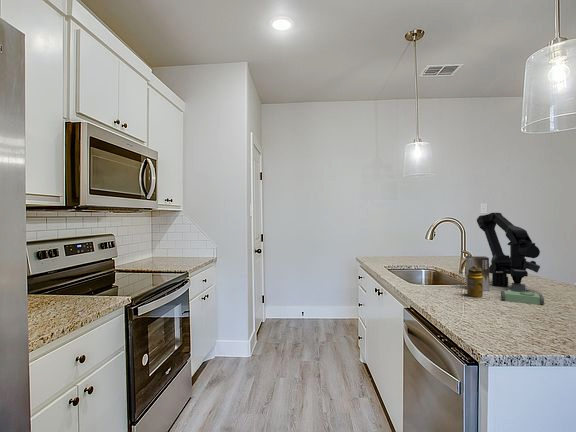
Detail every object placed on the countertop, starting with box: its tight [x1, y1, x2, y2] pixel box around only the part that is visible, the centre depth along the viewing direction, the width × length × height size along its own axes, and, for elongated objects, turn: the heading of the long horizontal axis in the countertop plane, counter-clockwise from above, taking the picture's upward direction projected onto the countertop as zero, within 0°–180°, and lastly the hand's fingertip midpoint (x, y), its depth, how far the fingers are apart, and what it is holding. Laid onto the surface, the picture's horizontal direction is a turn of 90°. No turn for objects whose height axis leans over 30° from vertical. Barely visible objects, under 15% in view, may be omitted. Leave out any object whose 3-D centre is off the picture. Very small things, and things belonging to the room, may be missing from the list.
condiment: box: [459, 269, 487, 299], centre depth 149 cm, size 7×8×12 cm
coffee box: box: [465, 255, 491, 292], centre depth 162 cm, size 9×6×16 cm
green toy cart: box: [500, 289, 545, 306], centre depth 142 cm, size 14×12×4 cm
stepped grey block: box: [510, 282, 526, 292], centre depth 154 cm, size 5×6×4 cm
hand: (517, 288), depth 157 cm, fingers closed
